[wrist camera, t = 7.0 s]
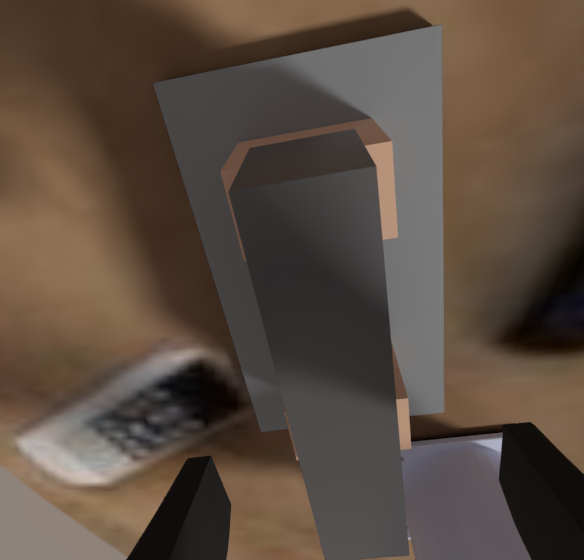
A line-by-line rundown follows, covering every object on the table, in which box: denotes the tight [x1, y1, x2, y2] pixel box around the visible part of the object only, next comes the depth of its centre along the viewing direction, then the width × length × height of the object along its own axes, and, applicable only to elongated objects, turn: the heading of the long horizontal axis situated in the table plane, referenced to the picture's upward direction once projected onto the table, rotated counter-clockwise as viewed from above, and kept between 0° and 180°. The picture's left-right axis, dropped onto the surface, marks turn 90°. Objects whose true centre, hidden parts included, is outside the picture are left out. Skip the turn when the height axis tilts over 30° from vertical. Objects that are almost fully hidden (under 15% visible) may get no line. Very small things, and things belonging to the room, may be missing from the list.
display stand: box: [153, 25, 444, 460], centre depth 18 cm, size 18×10×5 cm, turn 10°
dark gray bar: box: [228, 129, 409, 560], centre depth 14 cm, size 14×3×4 cm, turn 10°
